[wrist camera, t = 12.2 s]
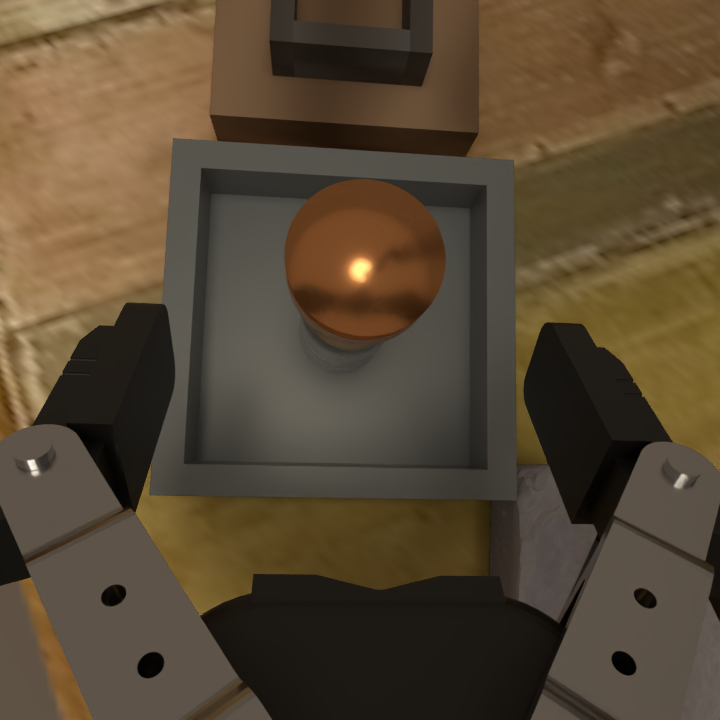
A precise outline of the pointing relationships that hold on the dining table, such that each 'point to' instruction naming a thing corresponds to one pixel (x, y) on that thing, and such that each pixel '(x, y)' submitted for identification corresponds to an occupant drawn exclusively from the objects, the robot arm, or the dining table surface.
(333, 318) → the pin
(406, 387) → the tray
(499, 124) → the dining table surface
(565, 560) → the stone block
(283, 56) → the bracket
